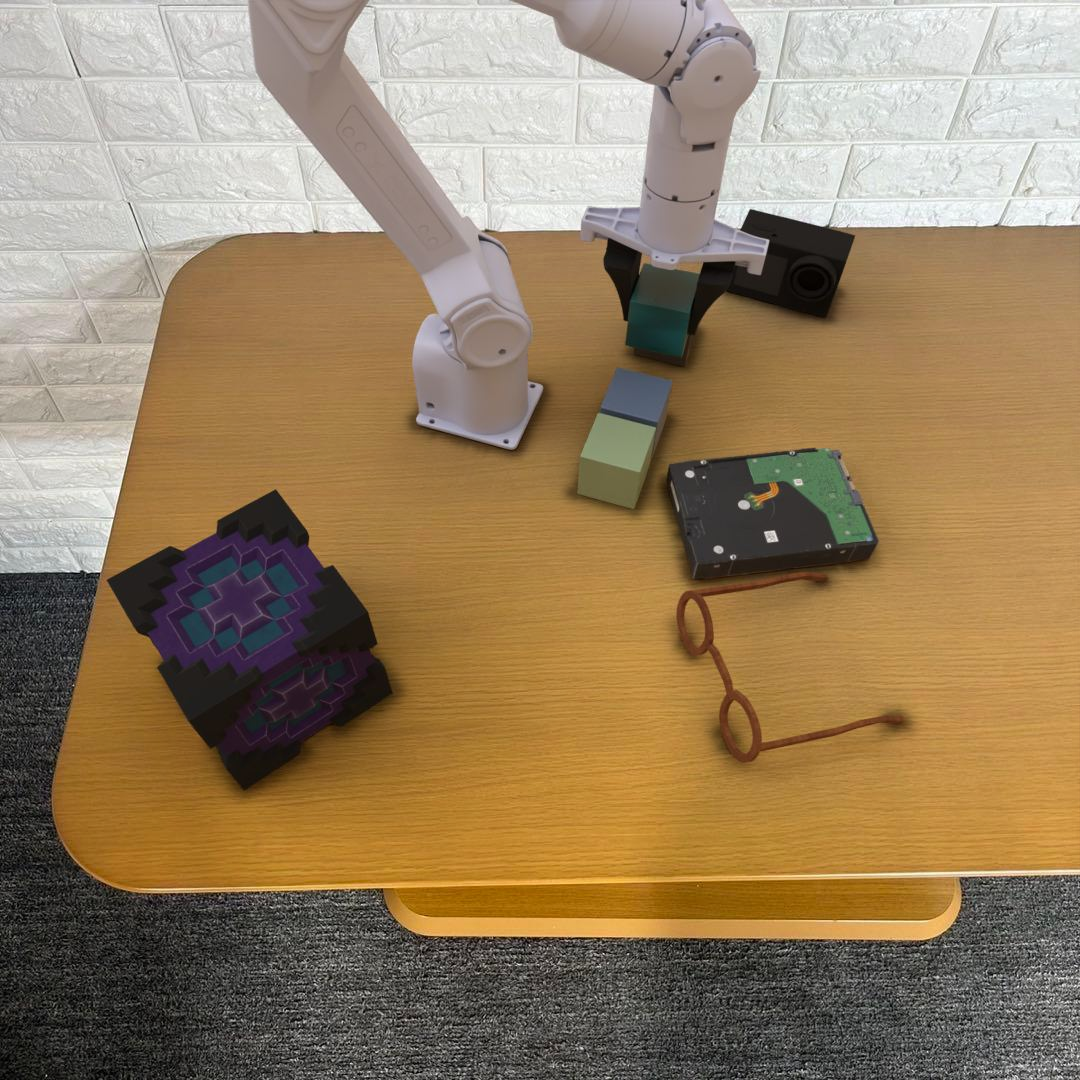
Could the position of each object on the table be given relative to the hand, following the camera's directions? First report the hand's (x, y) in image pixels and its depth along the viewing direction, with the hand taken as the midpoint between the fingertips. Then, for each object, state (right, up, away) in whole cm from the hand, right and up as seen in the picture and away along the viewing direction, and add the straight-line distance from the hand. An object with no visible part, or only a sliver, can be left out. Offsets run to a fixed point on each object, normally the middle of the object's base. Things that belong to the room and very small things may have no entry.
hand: (660, 320), depth 77 cm
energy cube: (-30, -29, -11) cm, 43 cm away
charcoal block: (+2, 0, +9) cm, 9 cm away
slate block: (-2, -9, +3) cm, 10 cm away
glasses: (+8, -29, -10) cm, 31 cm away
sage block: (-4, -14, 0) cm, 14 cm away
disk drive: (+8, -17, -3) cm, 19 cm away
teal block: (0, -1, +1) cm, 1 cm away
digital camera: (+14, +6, +13) cm, 20 cm away
